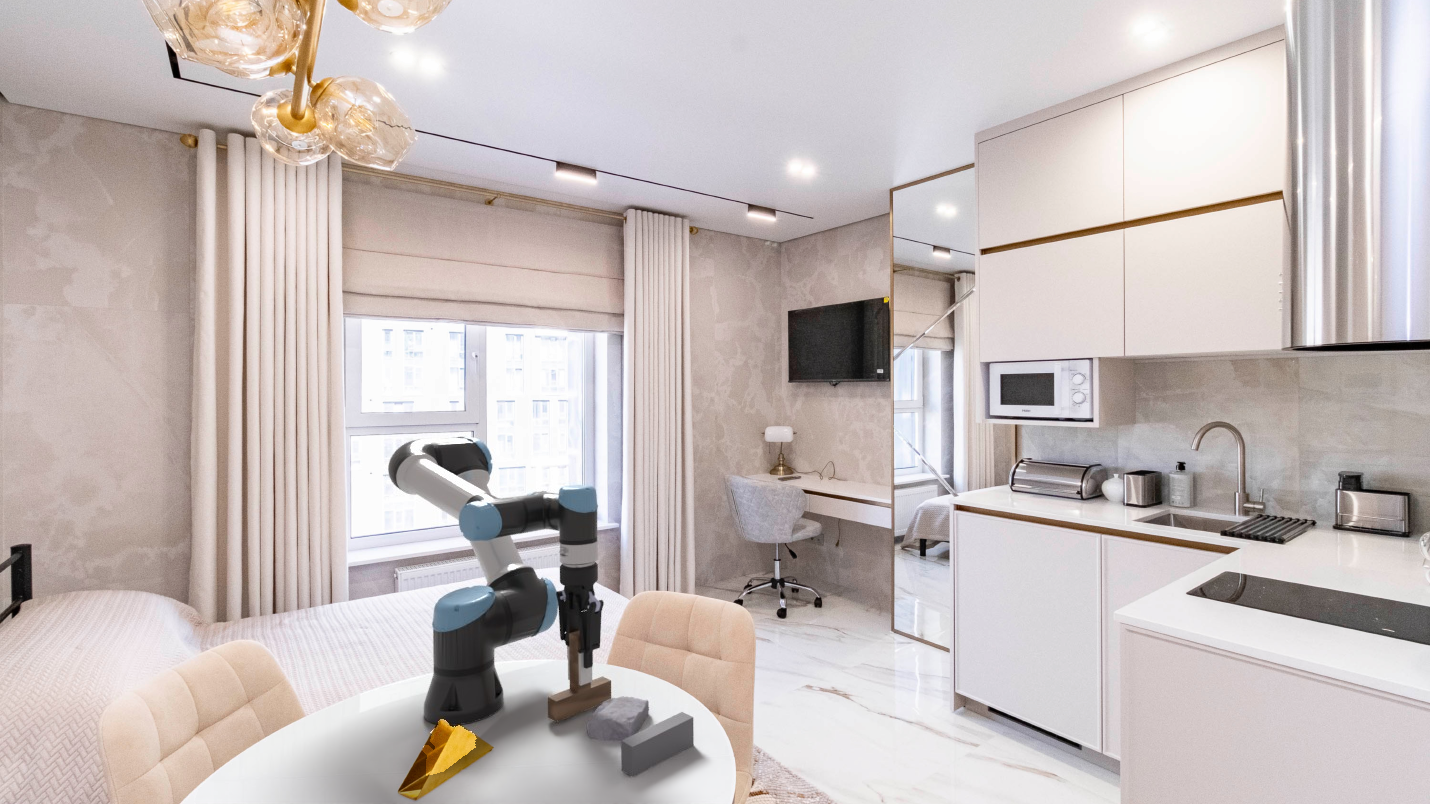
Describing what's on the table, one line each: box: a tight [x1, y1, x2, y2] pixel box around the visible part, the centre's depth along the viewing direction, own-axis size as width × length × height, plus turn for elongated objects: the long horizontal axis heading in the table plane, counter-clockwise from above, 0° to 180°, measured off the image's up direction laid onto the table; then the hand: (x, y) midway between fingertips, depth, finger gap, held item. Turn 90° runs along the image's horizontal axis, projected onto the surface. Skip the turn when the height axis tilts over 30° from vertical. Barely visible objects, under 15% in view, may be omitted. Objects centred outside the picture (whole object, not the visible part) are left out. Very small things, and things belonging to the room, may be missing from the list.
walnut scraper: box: [547, 631, 612, 723], centre depth 129 cm, size 3×13×15 cm, turn 136°
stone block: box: [586, 696, 650, 742], centre depth 124 cm, size 12×5×10 cm
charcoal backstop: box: [620, 711, 695, 778], centre depth 112 cm, size 3×14×5 cm, turn 136°
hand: (580, 680), depth 129 cm, fingers closed on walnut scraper, 3 cm apart
